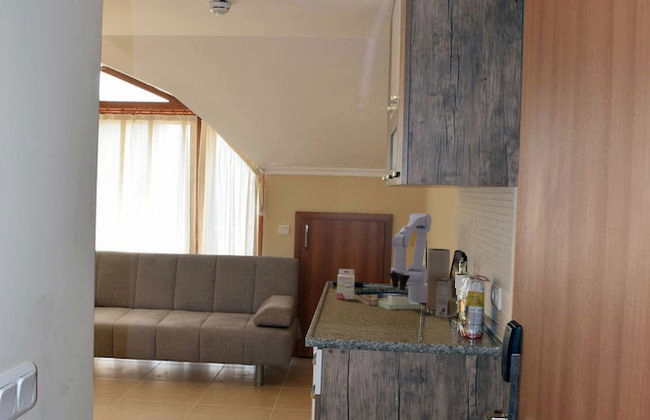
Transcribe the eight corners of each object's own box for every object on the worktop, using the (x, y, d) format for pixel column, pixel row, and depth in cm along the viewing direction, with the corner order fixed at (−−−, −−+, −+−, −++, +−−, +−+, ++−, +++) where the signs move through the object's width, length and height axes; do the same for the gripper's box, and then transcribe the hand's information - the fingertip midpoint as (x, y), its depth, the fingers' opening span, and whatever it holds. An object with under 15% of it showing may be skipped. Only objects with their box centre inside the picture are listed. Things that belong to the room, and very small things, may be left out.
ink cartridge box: (336, 299, 314) (337, 269, 314) (337, 297, 319) (338, 268, 319) (353, 299, 313) (354, 270, 313) (354, 298, 318) (355, 269, 318)
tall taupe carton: (451, 310, 289) (453, 250, 289) (431, 311, 286) (433, 249, 286) (442, 307, 298) (444, 248, 298) (422, 307, 296) (424, 248, 296)
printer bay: (376, 300, 313) (376, 294, 313) (387, 304, 300) (387, 298, 300) (358, 301, 310) (359, 294, 310) (369, 305, 297) (369, 298, 297)
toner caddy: (403, 305, 297) (403, 294, 297) (407, 306, 293) (408, 295, 293) (387, 305, 295) (387, 294, 295) (391, 307, 290) (392, 295, 290)
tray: (408, 305, 302) (409, 300, 302) (420, 309, 291) (420, 304, 291) (378, 305, 297) (378, 300, 297) (388, 309, 286) (388, 304, 286)
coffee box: (446, 314, 279) (448, 277, 279) (459, 316, 275) (460, 279, 275) (434, 315, 273) (435, 278, 273) (447, 318, 268) (448, 280, 268)
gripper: (385, 258, 301) (384, 286, 301) (398, 261, 287) (397, 291, 287) (399, 258, 303) (398, 286, 303) (412, 261, 289) (411, 290, 289)
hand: (398, 288), depth 295 cm, fingers open, 7 cm apart
